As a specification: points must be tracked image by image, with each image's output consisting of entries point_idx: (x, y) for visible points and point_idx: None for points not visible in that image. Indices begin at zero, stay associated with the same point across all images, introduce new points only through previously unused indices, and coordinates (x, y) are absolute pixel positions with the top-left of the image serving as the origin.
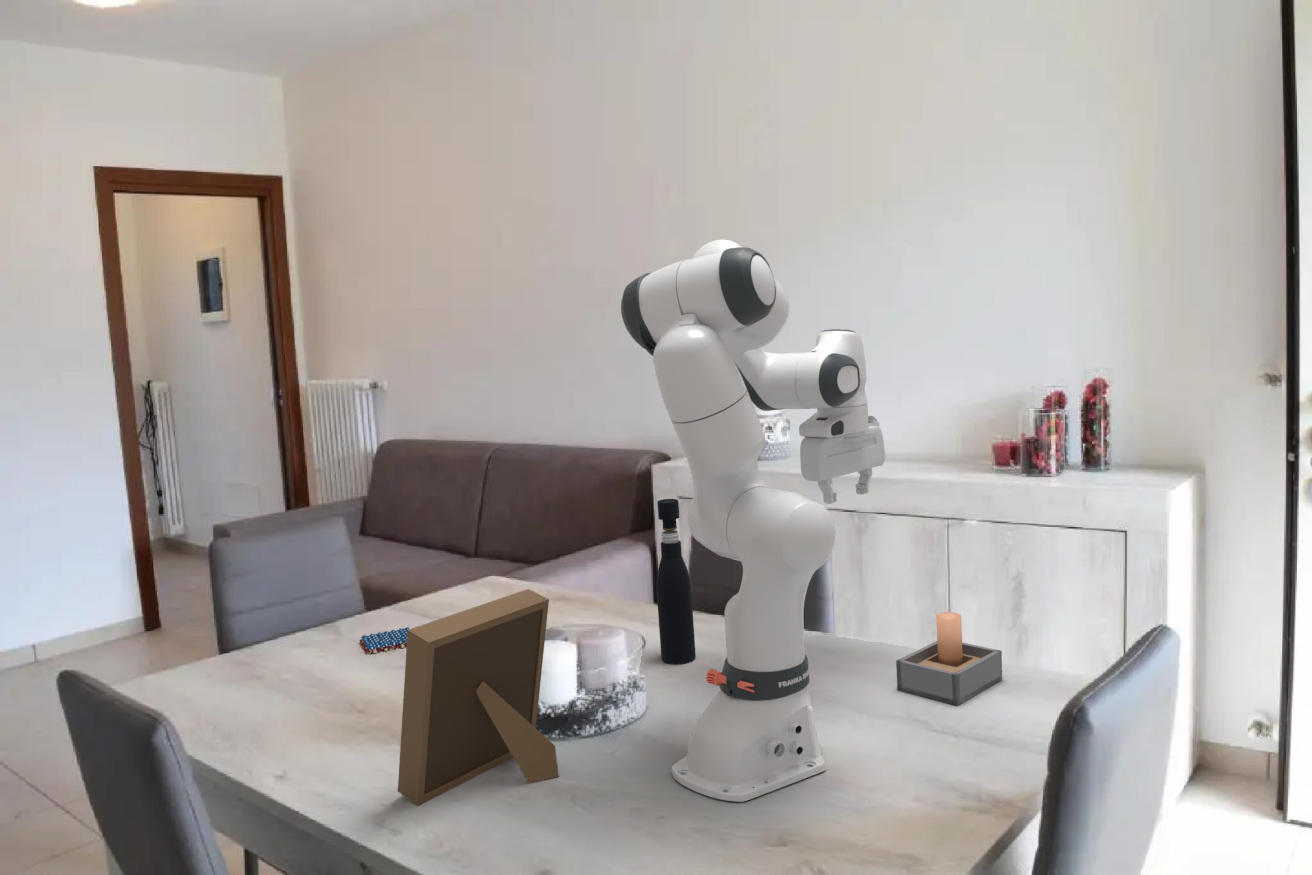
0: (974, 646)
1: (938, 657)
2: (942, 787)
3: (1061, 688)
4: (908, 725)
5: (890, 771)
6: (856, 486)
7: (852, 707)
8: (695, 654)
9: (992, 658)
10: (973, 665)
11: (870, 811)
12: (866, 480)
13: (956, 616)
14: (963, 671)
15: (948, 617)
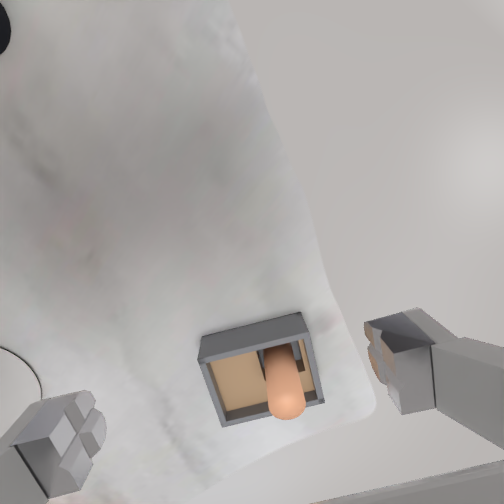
0: (313, 375)
1: (266, 356)
2: (99, 494)
3: (339, 419)
4: (150, 406)
5: None
6: (386, 349)
7: (127, 345)
8: (5, 40)
9: None
10: (260, 417)
11: None
12: (470, 420)
13: (294, 411)
14: (237, 423)
15: (282, 408)
